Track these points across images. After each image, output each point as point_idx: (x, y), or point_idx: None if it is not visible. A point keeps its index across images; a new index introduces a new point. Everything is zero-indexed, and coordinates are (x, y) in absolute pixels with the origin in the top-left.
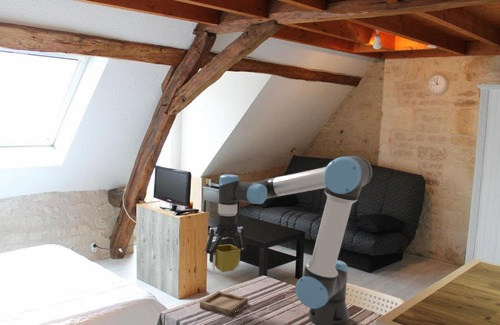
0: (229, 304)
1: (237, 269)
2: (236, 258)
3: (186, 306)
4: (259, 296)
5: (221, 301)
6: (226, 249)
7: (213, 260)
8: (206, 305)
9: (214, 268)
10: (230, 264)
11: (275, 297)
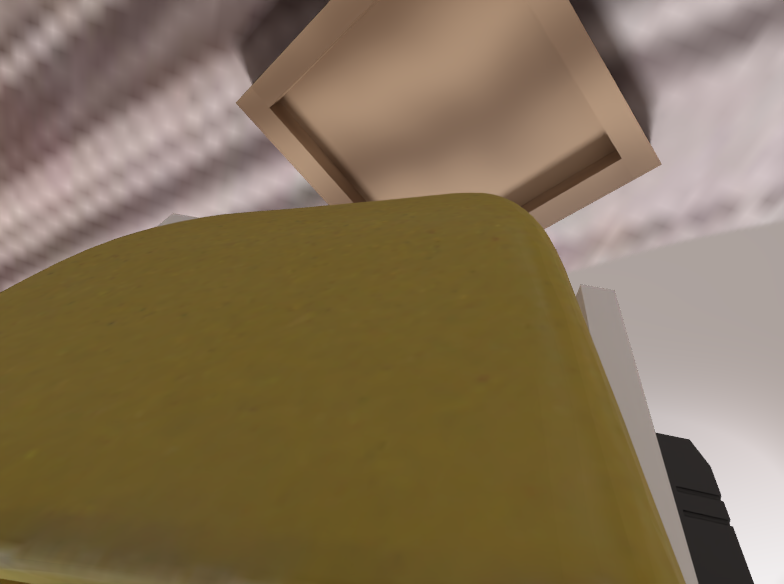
0: (409, 79)
1: None
2: (58, 289)
3: (737, 202)
4: (154, 180)
5: (450, 160)
6: None
7: (659, 453)
8: (625, 102)
9: (595, 316)
10: (288, 221)
11: (47, 127)
